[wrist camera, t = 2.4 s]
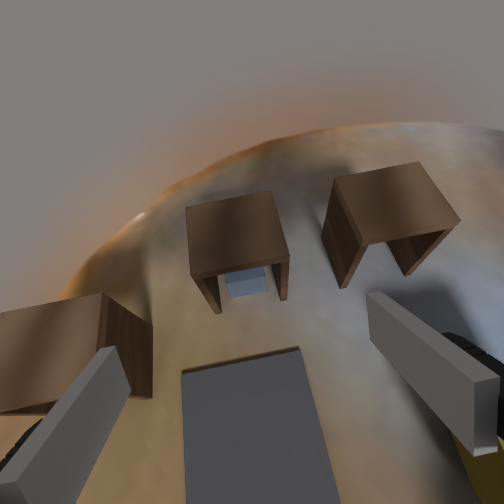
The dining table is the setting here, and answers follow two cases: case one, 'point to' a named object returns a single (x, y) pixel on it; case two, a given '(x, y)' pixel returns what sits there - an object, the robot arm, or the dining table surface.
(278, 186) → the dining table surface
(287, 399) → the mat
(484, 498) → the flower pot
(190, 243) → the cover middle
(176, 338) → the dining table surface
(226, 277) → the cube
